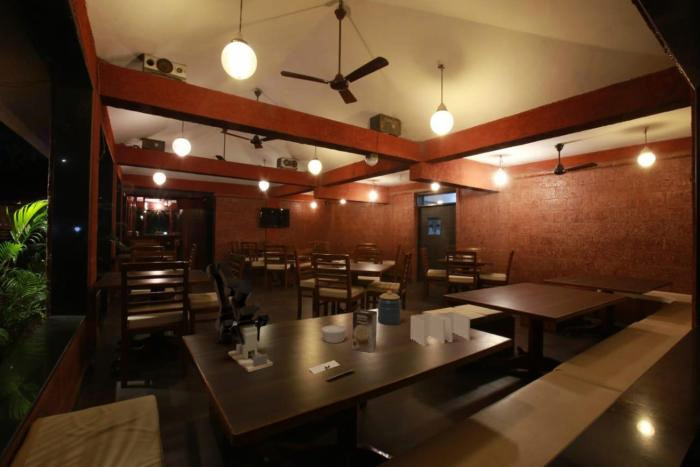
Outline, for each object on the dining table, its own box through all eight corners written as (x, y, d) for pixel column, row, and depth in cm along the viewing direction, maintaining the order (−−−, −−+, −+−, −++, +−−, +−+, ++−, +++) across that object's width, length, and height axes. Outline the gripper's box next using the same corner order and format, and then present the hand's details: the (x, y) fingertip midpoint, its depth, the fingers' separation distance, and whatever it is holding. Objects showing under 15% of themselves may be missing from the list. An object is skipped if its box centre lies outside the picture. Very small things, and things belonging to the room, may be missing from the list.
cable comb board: (228, 354, 127) (228, 351, 127) (250, 349, 133) (250, 346, 133) (249, 371, 111) (249, 369, 111) (272, 365, 117) (272, 362, 117)
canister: (376, 324, 171) (377, 291, 171) (378, 318, 183) (378, 287, 183) (401, 326, 168) (401, 292, 168) (401, 319, 181) (401, 288, 181)
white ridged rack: (235, 352, 127) (235, 344, 127) (247, 349, 130) (247, 341, 130) (254, 367, 113) (254, 358, 113) (267, 363, 116) (267, 354, 116)
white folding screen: (453, 333, 157) (454, 311, 157) (469, 340, 147) (469, 317, 147) (410, 339, 148) (410, 315, 148) (424, 347, 138) (424, 322, 138)
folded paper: (334, 363, 121) (334, 357, 121) (355, 374, 112) (355, 368, 112) (307, 371, 113) (307, 366, 113) (328, 384, 104) (328, 378, 104)
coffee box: (351, 349, 134) (351, 311, 134) (357, 344, 140) (357, 308, 139) (371, 353, 130) (372, 314, 130) (377, 348, 136) (377, 310, 136)
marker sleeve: (242, 356, 122) (242, 327, 122) (253, 353, 125) (254, 325, 125) (245, 359, 119) (245, 329, 119) (257, 356, 122) (257, 327, 122)
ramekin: (317, 342, 143) (317, 330, 143) (328, 334, 153) (328, 323, 153) (340, 345, 138) (340, 333, 138) (349, 337, 149) (349, 326, 149)
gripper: (222, 299, 119) (232, 336, 110) (268, 294, 131) (280, 327, 123) (215, 316, 125) (224, 352, 117) (259, 309, 137) (271, 341, 129)
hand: (251, 342), depth 121 cm, fingers open, 6 cm apart
